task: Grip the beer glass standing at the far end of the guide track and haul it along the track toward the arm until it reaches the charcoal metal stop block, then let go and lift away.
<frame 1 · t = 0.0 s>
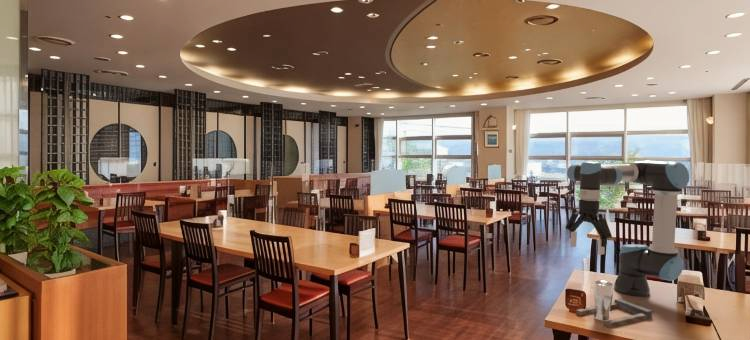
hand: (586, 250, 180), 28 cm above the table, tool pointing down, fingers open, 13 cm apart
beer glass: (601, 318, 180), on the table
guide track: (613, 315, 183), on the table
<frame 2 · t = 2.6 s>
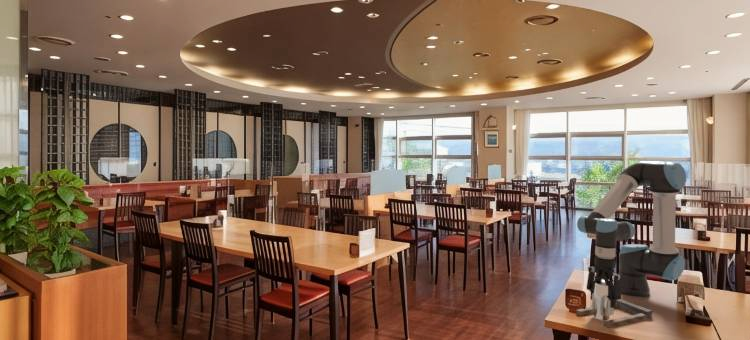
hand: (602, 311, 180), 3 cm above the table, tool pointing down, fingers closed on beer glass, 7 cm apart
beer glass: (601, 318, 180), on the table, touching gripper
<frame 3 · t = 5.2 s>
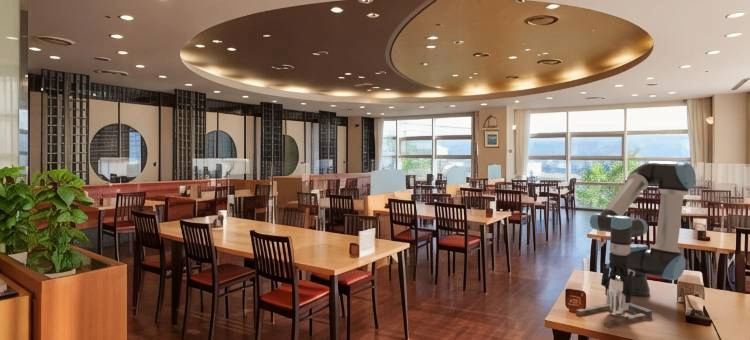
hand: (617, 306, 184), 4 cm above the table, tool pointing down, fingers closed on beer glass, 7 cm apart
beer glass: (616, 314, 184), on the table, touching gripper
when the fingers open (3 cm above the table, at t = 7.5 s): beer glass stays where it is, on the table.
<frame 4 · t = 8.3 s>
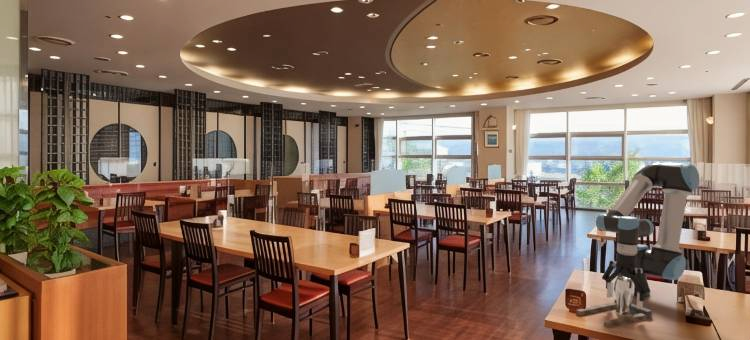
hand: (624, 302, 185), 5 cm above the table, tool pointing down, fingers open, 13 cm apart
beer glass: (623, 314, 185), on the table
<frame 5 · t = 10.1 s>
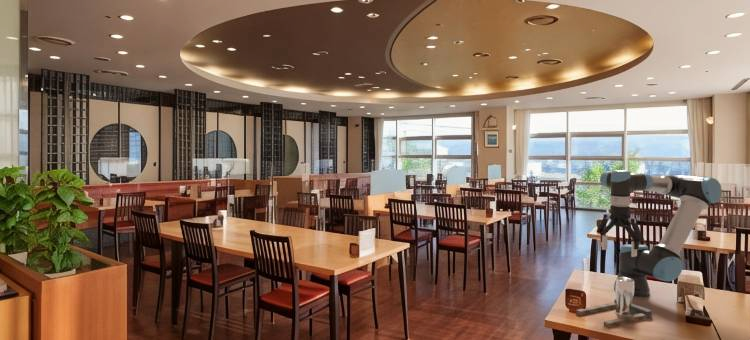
hand: (618, 252, 193), 24 cm above the table, tool pointing down, fingers open, 13 cm apart
nothing on the table moved.
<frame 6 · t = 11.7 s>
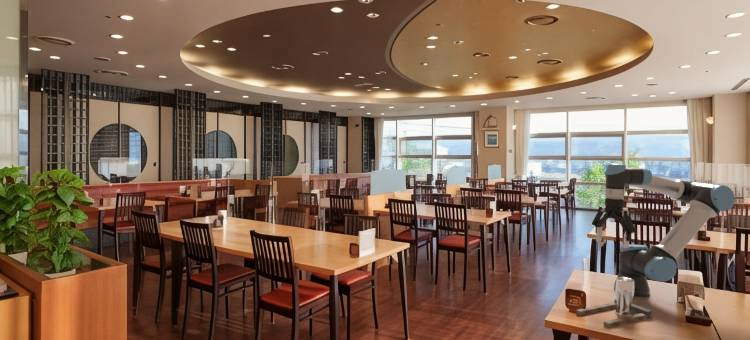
hand: (612, 244, 197), 27 cm above the table, tool pointing down, fingers open, 13 cm apart
nothing on the table moved.
at the end: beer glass 0.2 cm from the target spot, on the table; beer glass tilted 0°; the gripper is holding nothing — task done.
